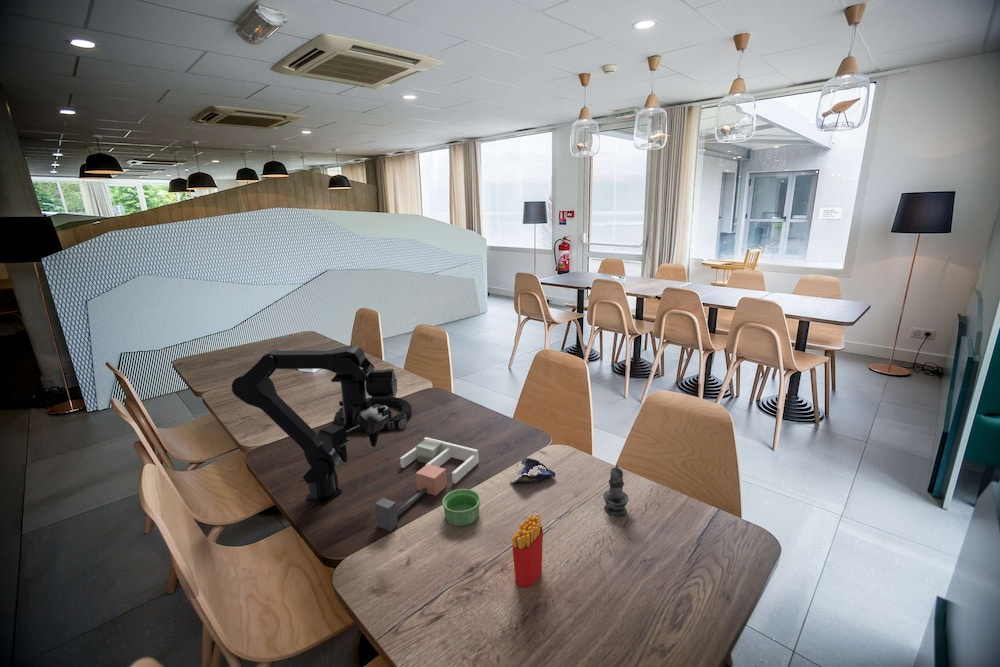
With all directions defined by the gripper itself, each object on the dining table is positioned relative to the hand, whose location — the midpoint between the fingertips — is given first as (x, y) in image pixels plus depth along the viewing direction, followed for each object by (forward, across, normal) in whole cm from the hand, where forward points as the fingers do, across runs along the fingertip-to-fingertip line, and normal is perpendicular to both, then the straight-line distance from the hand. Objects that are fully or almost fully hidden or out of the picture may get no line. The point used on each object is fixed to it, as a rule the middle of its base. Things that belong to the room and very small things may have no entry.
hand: (359, 454), depth 114 cm
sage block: (+11, +22, -4) cm, 25 cm away
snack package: (+11, +29, -35) cm, 46 cm away
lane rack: (+11, +20, -8) cm, 25 cm away
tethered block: (+11, +3, -15) cm, 19 cm away
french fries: (+11, -3, -51) cm, 52 cm away
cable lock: (+12, +35, +33) cm, 49 cm away
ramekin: (+11, +6, -28) cm, 31 cm away
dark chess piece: (+10, +26, -59) cm, 65 cm away
